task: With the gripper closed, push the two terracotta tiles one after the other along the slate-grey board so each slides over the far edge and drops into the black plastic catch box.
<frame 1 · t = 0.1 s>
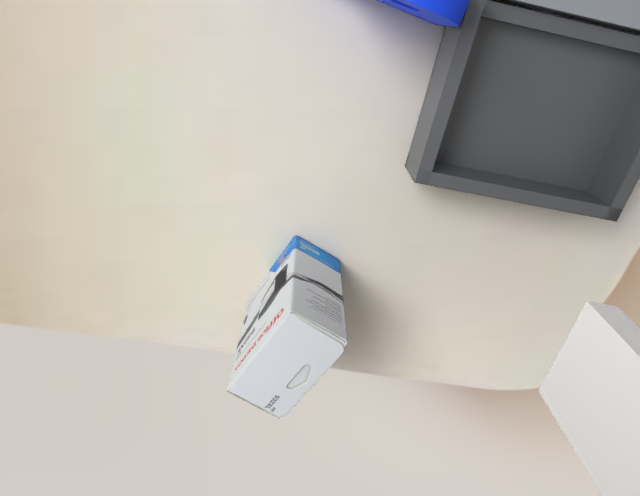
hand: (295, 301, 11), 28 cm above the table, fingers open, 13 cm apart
catch box: (528, 108, 36), on the table
ink box: (292, 280, 43), on the table
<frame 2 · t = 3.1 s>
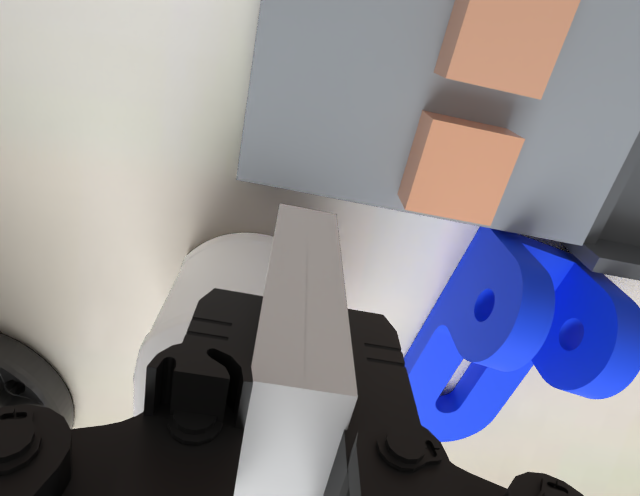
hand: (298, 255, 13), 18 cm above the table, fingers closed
board: (442, 90, 28), on the table
bracket: (470, 336, 37), on the table
tile 2: (494, 32, 25), point 2 cm above the table, touching board
jar: (250, 302, 35), on the table
tile 1: (450, 162, 28), point 2 cm above the table, touching board
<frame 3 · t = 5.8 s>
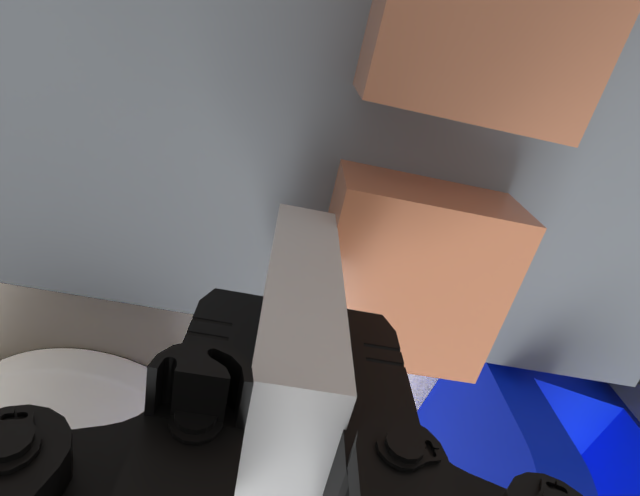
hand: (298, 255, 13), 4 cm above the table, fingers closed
board: (384, 115, 15), on the table
bracket: (448, 488, 24), on the table
tile 2: (477, 1, 12), point 2 cm above the table, touching board
jar: (93, 444, 22), on the table
tile 1: (401, 253, 15), point 2 cm above the table, touching board, gripper
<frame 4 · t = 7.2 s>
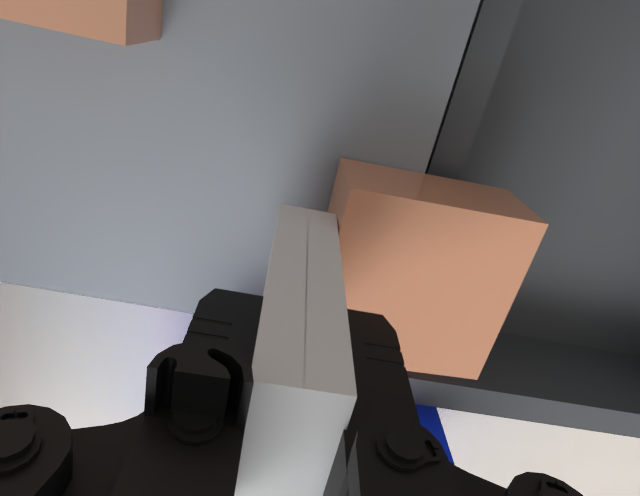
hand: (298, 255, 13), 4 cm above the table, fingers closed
board: (62, 44, 14), on the table
bracket: (253, 462, 23), on the table
catch box: (601, 162, 16), on the table
tile 1: (401, 251, 15), point 2 cm above the table, touching board, gripper
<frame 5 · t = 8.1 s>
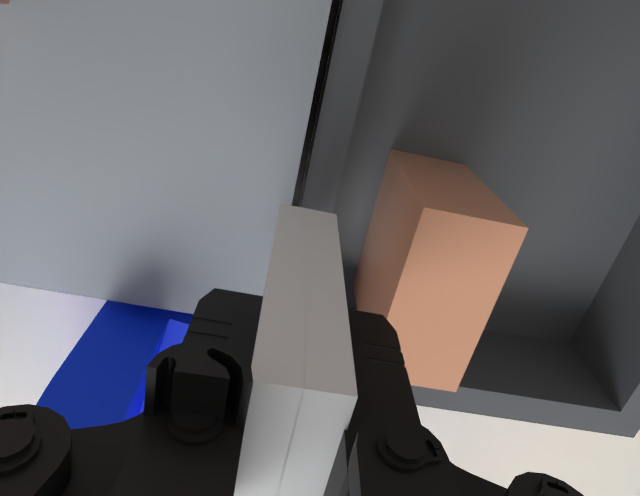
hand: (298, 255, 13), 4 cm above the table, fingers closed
bracket: (179, 452, 22), on the table
catch box: (506, 139, 15), on the table
tile 1: (379, 254, 14), point 3 cm above the table, tilted 90°, touching catch box
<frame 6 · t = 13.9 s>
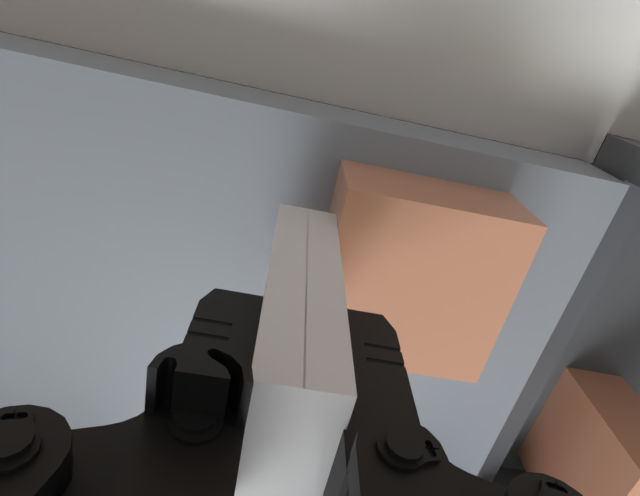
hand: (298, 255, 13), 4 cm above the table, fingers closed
board: (230, 280, 18), on the table
tile 2: (402, 253, 15), point 2 cm above the table, touching board
tile 1: (568, 461, 18), point 3 cm above the table, tilted 90°, touching catch box
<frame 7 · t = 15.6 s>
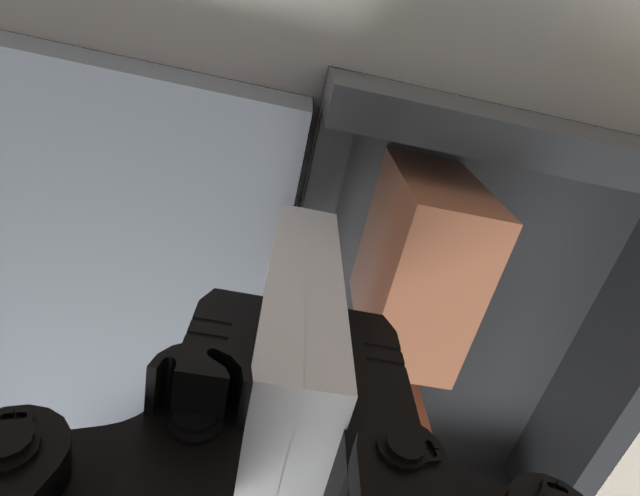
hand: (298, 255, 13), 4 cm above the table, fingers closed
catch box: (440, 315, 19), on the table
tile 2: (375, 251, 14), point 3 cm above the table, tilted 90°, touching catch box
tile 1: (330, 426, 17), point 3 cm above the table, tilted 90°, touching catch box
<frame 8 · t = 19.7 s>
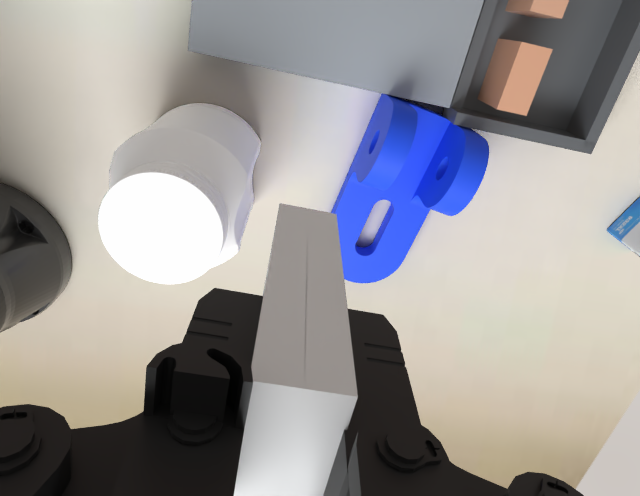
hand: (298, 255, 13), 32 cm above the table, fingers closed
bracket: (382, 195, 47), on the table
catch box: (541, 35, 40), on the table
jar: (206, 164, 45), on the table
tile 1: (497, 72, 39), point 3 cm above the table, tilted 90°, touching catch box
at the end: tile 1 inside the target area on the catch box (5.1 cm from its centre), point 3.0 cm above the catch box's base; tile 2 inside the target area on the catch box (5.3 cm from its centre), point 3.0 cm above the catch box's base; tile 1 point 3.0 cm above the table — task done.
